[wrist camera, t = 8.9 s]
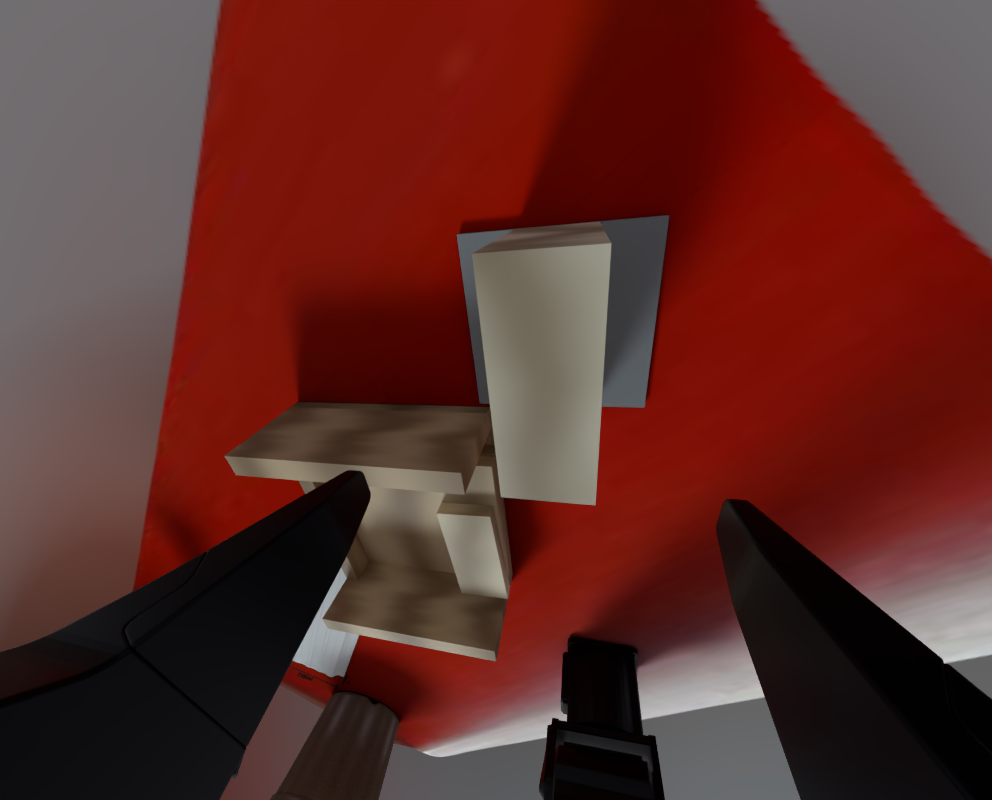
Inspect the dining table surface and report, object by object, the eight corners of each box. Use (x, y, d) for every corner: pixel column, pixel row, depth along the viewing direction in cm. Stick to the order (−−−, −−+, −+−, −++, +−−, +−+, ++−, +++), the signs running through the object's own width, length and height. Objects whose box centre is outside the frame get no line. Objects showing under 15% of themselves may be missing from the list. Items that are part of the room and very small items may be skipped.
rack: (489, 407, 23) (460, 473, 18) (510, 582, 33) (496, 661, 27) (297, 401, 27) (224, 455, 21) (366, 562, 36) (327, 628, 31)
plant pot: (373, 683, 53) (301, 854, 39) (430, 733, 59) (385, 897, 45) (303, 683, 59) (219, 829, 46) (360, 728, 65) (302, 869, 52)
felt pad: (667, 215, 16) (669, 215, 16) (643, 404, 21) (644, 407, 21) (459, 233, 18) (456, 234, 18) (481, 400, 23) (479, 403, 23)
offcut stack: (501, 445, 24) (491, 475, 21) (515, 574, 31) (509, 609, 28) (441, 442, 25) (425, 470, 22) (468, 568, 32) (458, 601, 29)
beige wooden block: (599, 221, 16) (611, 243, 10) (591, 405, 21) (595, 505, 15) (515, 228, 17) (471, 253, 11) (525, 404, 22) (501, 497, 16)
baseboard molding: (398, 571, 37) (293, 524, 37) (385, 599, 35) (272, 548, 34) (355, 673, 54) (283, 641, 54) (344, 696, 51) (268, 663, 51)
